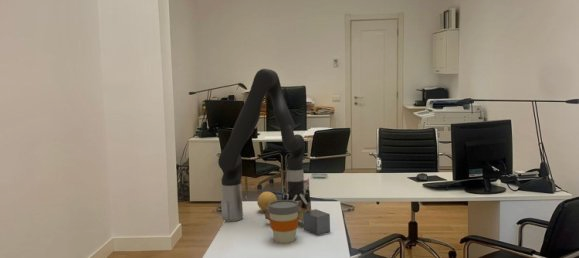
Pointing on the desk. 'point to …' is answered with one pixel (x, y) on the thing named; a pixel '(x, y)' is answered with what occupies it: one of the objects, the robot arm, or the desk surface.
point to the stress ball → (265, 200)
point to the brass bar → (301, 213)
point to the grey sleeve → (316, 222)
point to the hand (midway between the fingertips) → (296, 213)
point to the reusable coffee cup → (284, 220)
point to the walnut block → (267, 214)
